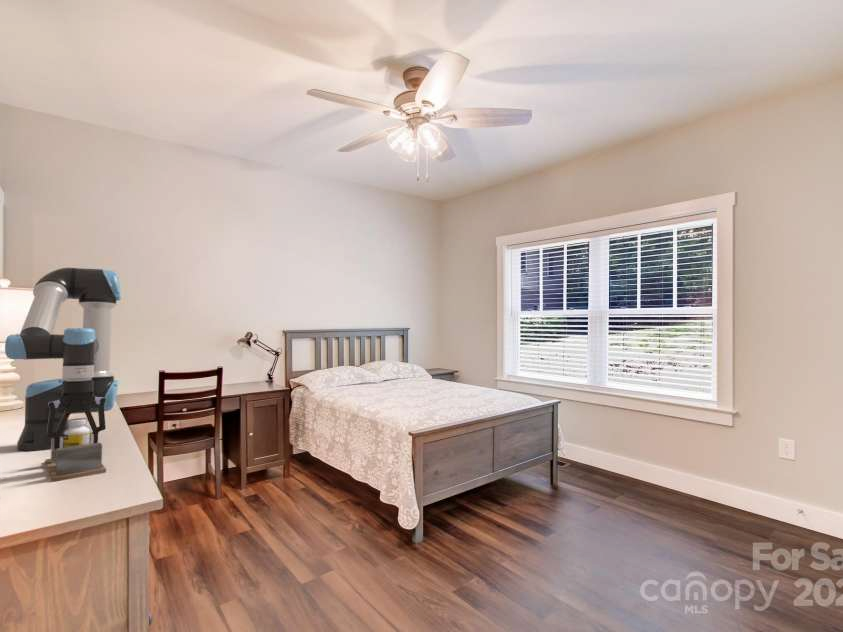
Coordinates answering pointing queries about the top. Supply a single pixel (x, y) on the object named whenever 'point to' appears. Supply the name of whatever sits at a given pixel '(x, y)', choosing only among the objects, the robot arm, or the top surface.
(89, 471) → the vise bed
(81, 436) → the pill bottle
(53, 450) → the sliding jaw
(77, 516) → the top surface
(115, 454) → the top surface
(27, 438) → the robot arm
